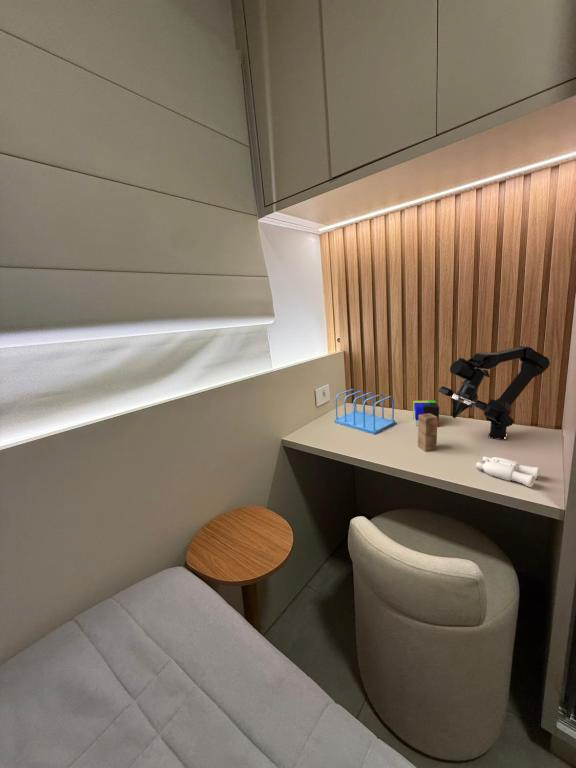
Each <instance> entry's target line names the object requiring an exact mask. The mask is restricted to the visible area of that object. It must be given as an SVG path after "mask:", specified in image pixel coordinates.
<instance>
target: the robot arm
mask: <svg viewBox="0 0 576 768" xmlns="http://www.w3.org/2000/svg"><path fill="white" fill-rule="evenodd" d="M516 359H518V360H519V361H520V362H521V364H520V371H519V373H518V374H517V375H516V376H515V377H514V379H513V380H512V382H511V383H510V384H509V385H508V387H507V388H506V389H505V390H504V391H503V393H502V394H501V395H500V397H498V398H497V399H494V398H491V399H490V400H489V401H488V403H487V402H484V401H481V400H479V394H478V391H479V387H480V386H481V383H482V382H483V380H484V378H486V377H487V378H490V374H489V370H490V369H493V368H496V367H497V366H498V365H499V364H501V363H505V362H508V361H512V360H513V361H514V360H516ZM550 364H551V363H550V359H549V358H548V357H547V356H544V354H541V353H540V352H538V351H536V350H534V349H533V348H532V347H531V346H524V345H518V346H516V347H512V348H508V349H505V350H500V351H496V352H476V353H474V355H473V356H472V357H471V358H468V359H465V358H461V357H458V360H455V361H454V362H453V363H452V364H451V365H450V368H449V371H450V373H451V374H452V375H454V376H457V377H459V378H460V379H463V381H462V382H461V386H460V388H459V390H457V392H455V391H454V390H453V389H451V388H448V387H447V386H441V387H439V389H438V393H440V394H443V395H445V396H447V397H449V398H450V400H452V416H451V417H452V419H456V418H457V417H458V416H459V415H460V414H462V412H464V411H465V410H467V409H469V408H471V409H472V408H473V406H474V407H476V408H477V409H479V410H481V411H483V414H484V416H485V419H486V421H487V422H490V428H489V431H490V433H488V436H487V437H488V438H489V436H490V437H493V438H492V439H495V438H500V439H499V440H502V439H504V437H506V434H507V427H510V426H512V425H513V424H514V422H515V421H514V419H513V418H512V417H511V416H510V414H511V409H512V405H513V404H514V402H515V401H516V400H517V398H518V397H519V396H520V395H521V393H522V392H523V391H524V390H525V389H526V387H527V386H528V385H529V383H530V382H531V381H532V380H533V379H534V378H536V377H537V376H539V375H542V374H543V373H544V372H545V371H547V370H548V368H549V366H550ZM462 401H463V402H462Z"/></svg>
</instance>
